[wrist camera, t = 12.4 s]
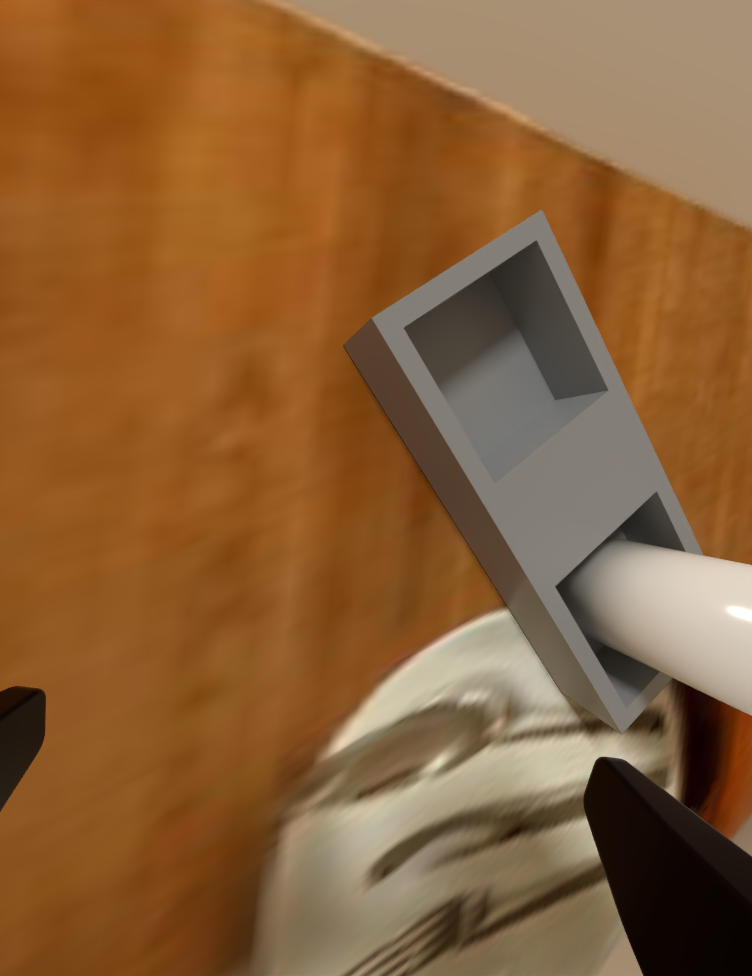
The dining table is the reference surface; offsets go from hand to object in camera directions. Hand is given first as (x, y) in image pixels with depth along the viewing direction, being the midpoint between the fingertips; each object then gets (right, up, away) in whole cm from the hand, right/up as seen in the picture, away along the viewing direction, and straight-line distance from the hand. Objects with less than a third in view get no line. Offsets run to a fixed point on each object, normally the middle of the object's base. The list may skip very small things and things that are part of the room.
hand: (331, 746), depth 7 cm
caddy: (+8, +4, +14) cm, 16 cm away
